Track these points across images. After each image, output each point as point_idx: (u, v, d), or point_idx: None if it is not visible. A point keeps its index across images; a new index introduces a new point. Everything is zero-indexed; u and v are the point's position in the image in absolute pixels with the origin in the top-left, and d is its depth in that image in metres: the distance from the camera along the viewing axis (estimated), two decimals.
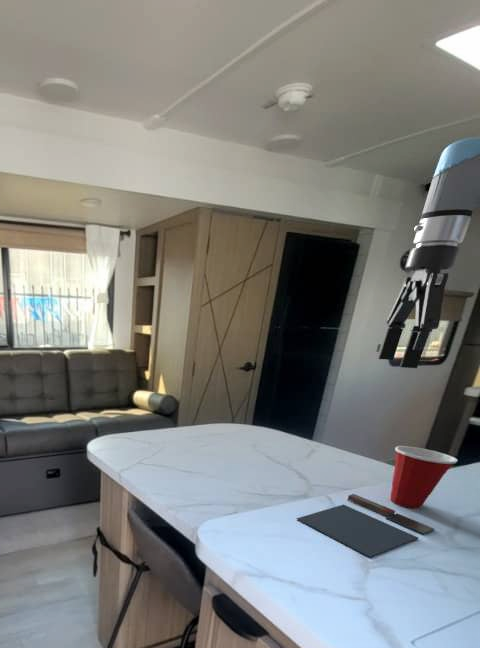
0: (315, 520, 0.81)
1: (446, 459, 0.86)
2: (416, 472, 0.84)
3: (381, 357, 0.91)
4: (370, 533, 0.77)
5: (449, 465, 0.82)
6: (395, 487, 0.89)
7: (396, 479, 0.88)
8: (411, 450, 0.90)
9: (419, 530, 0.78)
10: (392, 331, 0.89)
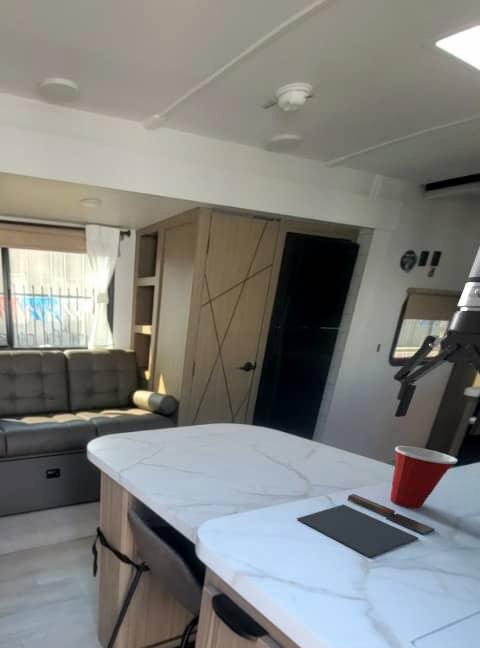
0: (315, 520, 0.81)
1: (446, 459, 0.86)
2: (416, 472, 0.84)
3: (399, 415, 0.87)
4: (370, 533, 0.77)
5: (449, 465, 0.82)
6: (395, 487, 0.89)
7: (396, 479, 0.88)
8: (411, 450, 0.90)
9: (419, 530, 0.78)
10: (410, 389, 0.85)
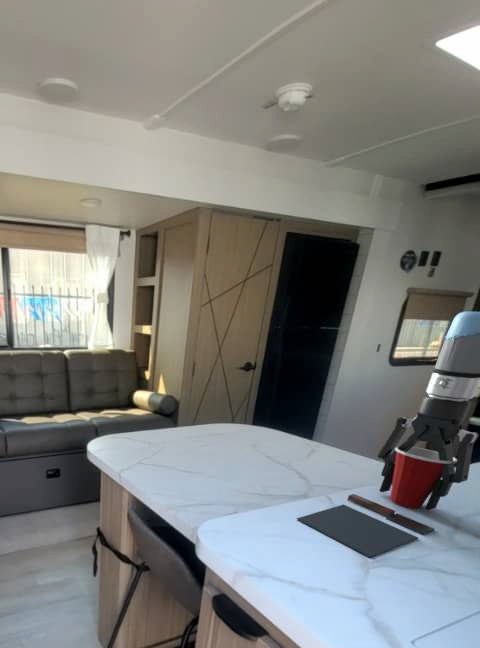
0: (315, 520, 0.81)
1: None
2: (416, 472, 0.84)
3: (383, 490, 0.93)
4: (370, 533, 0.77)
5: None
6: (395, 487, 0.89)
7: (396, 479, 0.88)
8: (411, 450, 0.90)
9: (419, 530, 0.78)
10: (393, 468, 0.91)
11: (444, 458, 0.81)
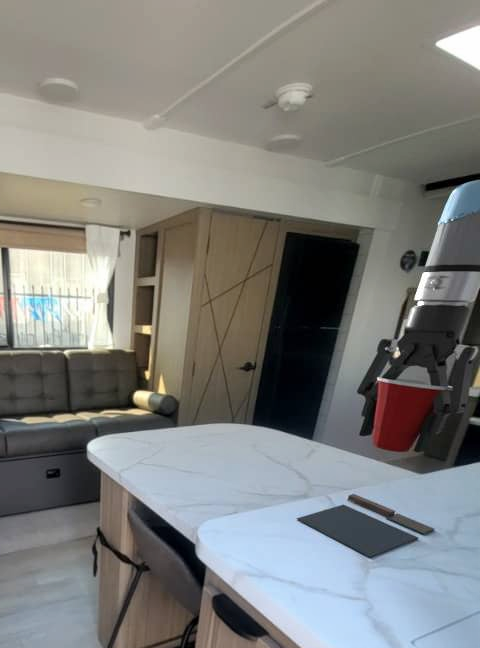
0: (315, 520, 0.81)
1: None
2: (402, 403, 0.67)
3: (364, 434, 0.76)
4: (370, 533, 0.77)
5: None
6: (377, 427, 0.72)
7: (378, 416, 0.71)
8: None
9: (419, 530, 0.78)
10: (375, 404, 0.74)
11: (437, 383, 0.64)
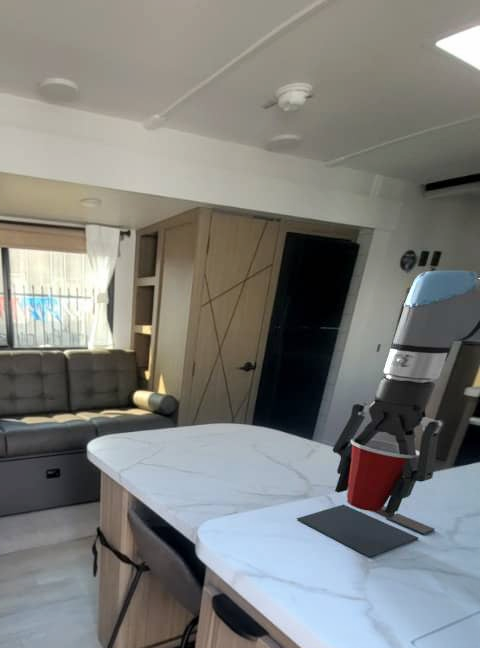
0: (315, 520, 0.81)
1: None
2: (373, 468, 0.70)
3: (340, 490, 0.79)
4: (370, 533, 0.77)
5: None
6: (351, 486, 0.75)
7: (352, 477, 0.75)
8: (370, 443, 0.77)
9: (419, 530, 0.78)
10: (350, 464, 0.77)
11: (405, 452, 0.68)
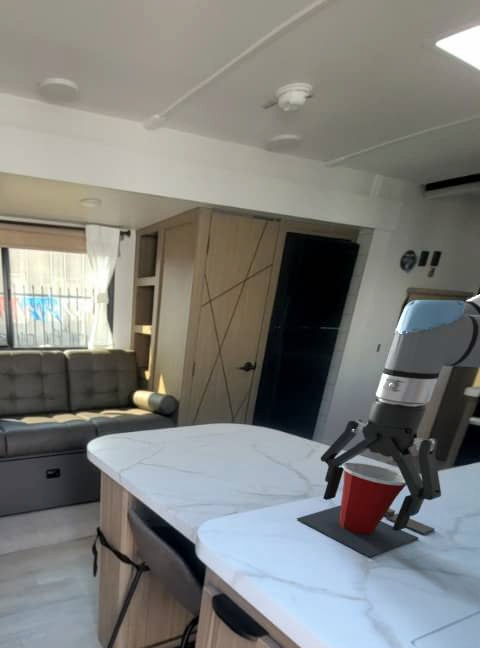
0: (315, 520, 0.81)
1: (400, 479, 0.74)
2: (364, 494, 0.73)
3: (327, 498, 0.82)
4: None
5: (401, 487, 0.70)
6: (343, 510, 0.77)
7: (344, 501, 0.77)
8: (362, 467, 0.79)
9: (419, 530, 0.78)
10: (337, 472, 0.80)
11: (406, 471, 0.68)
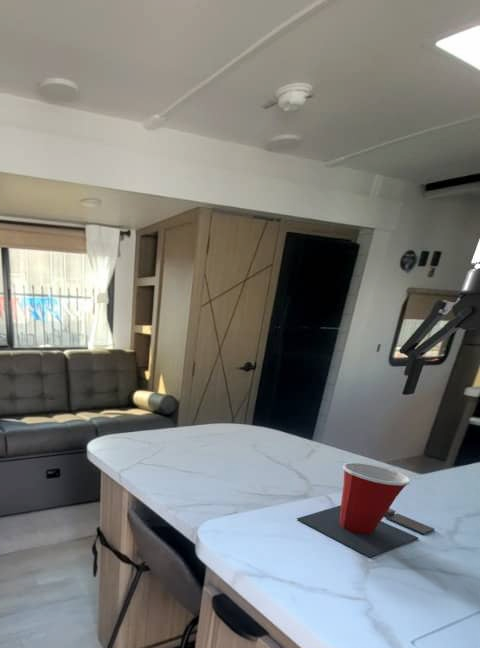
0: (315, 520, 0.81)
1: (400, 479, 0.74)
2: (364, 494, 0.73)
3: (407, 392, 0.78)
4: None
5: (401, 487, 0.70)
6: (343, 510, 0.77)
7: (344, 501, 0.77)
8: (362, 467, 0.79)
9: (419, 530, 0.78)
10: (419, 362, 0.76)
11: None
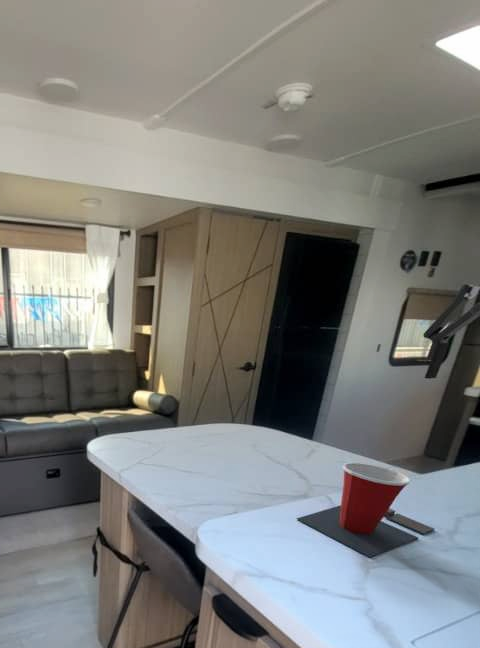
0: (315, 520, 0.81)
1: (400, 479, 0.74)
2: (364, 494, 0.73)
3: (430, 376, 0.79)
4: None
5: (401, 487, 0.70)
6: (343, 510, 0.77)
7: (344, 501, 0.77)
8: (362, 467, 0.79)
9: (419, 530, 0.78)
10: (442, 346, 0.77)
11: None
